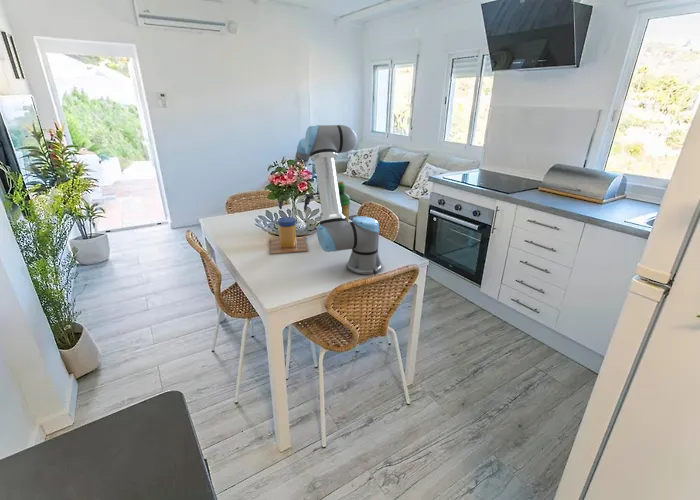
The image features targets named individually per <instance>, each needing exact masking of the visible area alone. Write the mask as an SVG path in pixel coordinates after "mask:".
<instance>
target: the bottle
mask: <svg viewBox="0 0 700 500" xmlns="http://www.w3.org/2000/svg"><path fill="white" fill-rule="evenodd" d="M338 188H339V195H340V202H341V209H342V214H343V216H345V217H346V218H347V222H349V217H350V202H351V197H350V196H349V194H347V193H346V192H345V190H346V184H345V183H344V181H338Z"/></svg>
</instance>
